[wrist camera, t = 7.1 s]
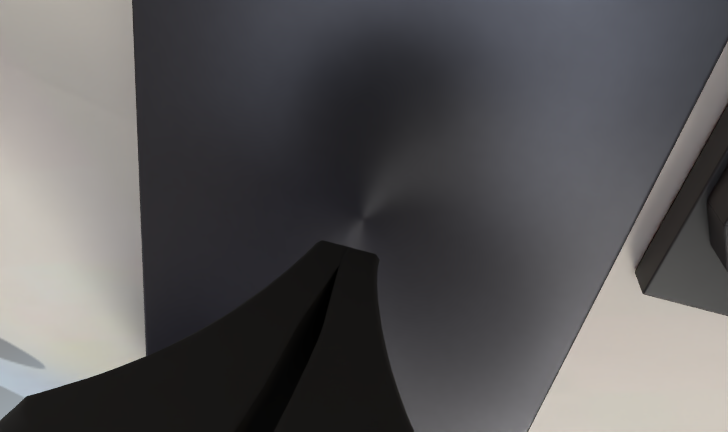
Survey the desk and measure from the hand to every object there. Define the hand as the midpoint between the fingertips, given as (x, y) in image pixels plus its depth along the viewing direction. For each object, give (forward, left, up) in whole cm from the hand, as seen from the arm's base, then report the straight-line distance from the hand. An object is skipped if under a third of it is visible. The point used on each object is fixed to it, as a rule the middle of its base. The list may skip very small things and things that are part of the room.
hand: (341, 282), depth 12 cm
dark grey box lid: (0, 0, -3) cm, 3 cm away
